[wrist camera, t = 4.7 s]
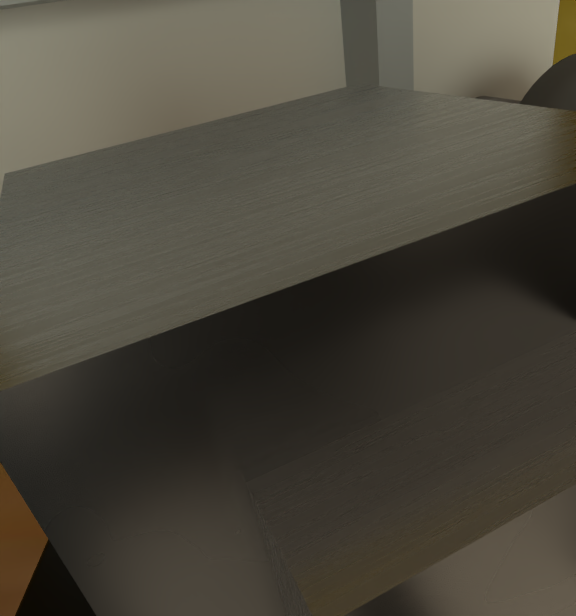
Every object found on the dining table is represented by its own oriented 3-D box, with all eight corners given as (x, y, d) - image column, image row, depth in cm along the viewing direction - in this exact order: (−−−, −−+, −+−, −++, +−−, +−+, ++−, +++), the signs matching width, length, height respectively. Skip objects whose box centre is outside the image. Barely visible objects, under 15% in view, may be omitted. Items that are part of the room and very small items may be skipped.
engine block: (392, 462, 12) (649, 758, 7) (179, 567, 10) (311, 1027, 6) (359, 83, 8) (921, 154, 3) (4, 174, 6) (-70, 596, 2)
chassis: (501, 363, 29) (547, 396, 26) (91, 543, 23) (101, 609, 20) (568, -381, 15) (679, -466, 13) (-427, -462, 9) (-613, -667, 6)
